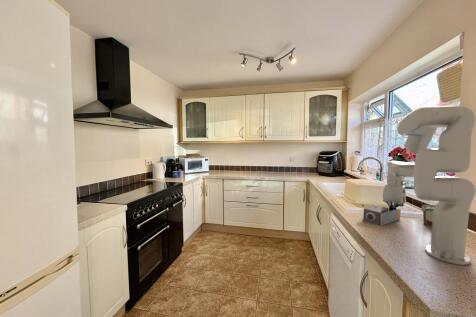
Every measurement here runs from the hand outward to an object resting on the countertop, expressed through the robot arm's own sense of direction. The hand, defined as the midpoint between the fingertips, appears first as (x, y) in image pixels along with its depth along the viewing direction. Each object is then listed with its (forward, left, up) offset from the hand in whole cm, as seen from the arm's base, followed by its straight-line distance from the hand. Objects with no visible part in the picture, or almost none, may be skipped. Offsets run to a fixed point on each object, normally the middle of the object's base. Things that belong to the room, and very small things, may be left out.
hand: (392, 213), depth 121 cm
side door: (-8, -2, -3) cm, 9 cm away
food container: (+7, -16, -3) cm, 18 cm away
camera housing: (-11, +4, -3) cm, 12 cm away
